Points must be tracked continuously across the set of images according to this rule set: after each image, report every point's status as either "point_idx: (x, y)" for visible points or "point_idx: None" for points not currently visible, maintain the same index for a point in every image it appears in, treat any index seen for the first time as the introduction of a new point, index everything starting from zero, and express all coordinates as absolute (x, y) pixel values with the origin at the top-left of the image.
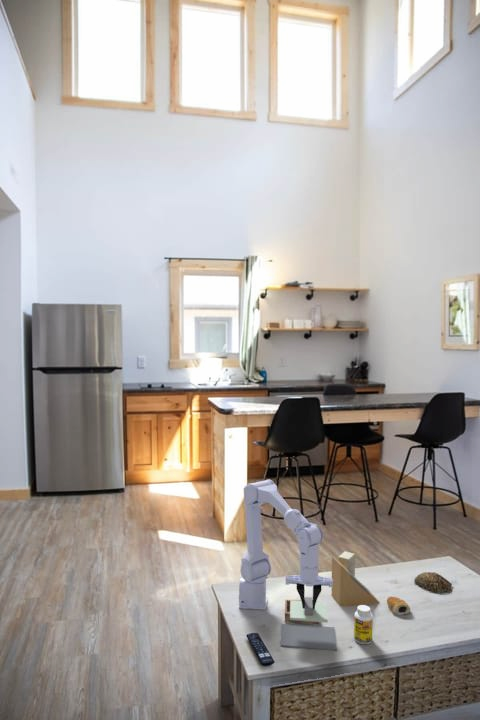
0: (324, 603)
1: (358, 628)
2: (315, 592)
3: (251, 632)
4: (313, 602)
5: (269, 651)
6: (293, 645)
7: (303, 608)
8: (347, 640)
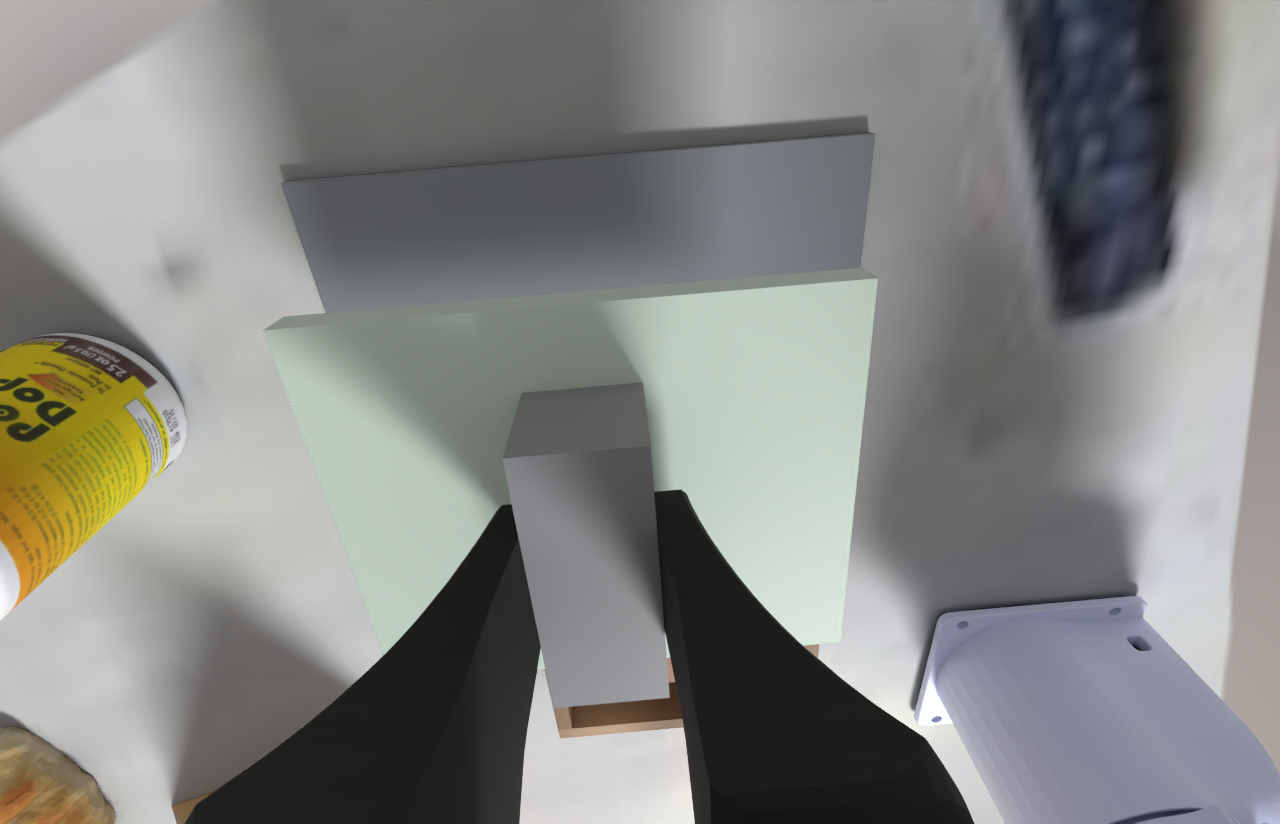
0: None
1: (3, 412)
2: (362, 774)
3: (1115, 315)
4: (493, 571)
5: (997, 4)
6: (736, 154)
7: (672, 491)
8: (240, 367)
